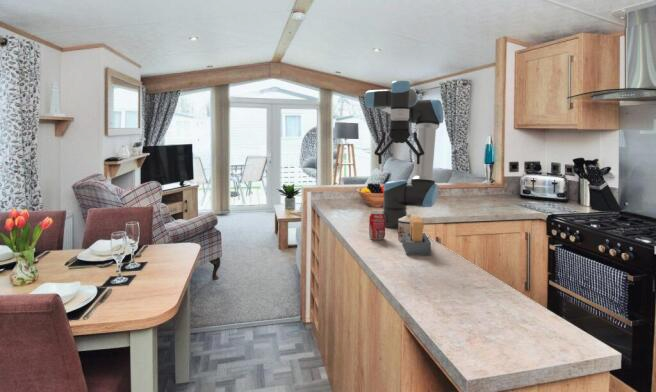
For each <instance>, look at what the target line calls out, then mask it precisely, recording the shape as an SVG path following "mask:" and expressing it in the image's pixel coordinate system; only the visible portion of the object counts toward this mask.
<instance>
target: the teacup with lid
mask: <svg viewBox="0 0 656 392" xmlns="http://www.w3.org/2000/svg"><path fill="white" fill-rule="evenodd" d="M410 217H413V216H412V214H411V213H407V214H406V216H404V217H403V218H400V219H398V228H397V230H398V232H397V240H398V241H400V242H402V240H403V233H410Z"/></svg>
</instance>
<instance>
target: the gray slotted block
mask: <svg viewBox="0 0 656 392" xmlns="http://www.w3.org/2000/svg"><path fill="white" fill-rule="evenodd" d="M401 243H402V247H403V250H404V253H405V255H406V256H425V257H426V256H429V257H430V256H431V255H432V254H431V250H432V249H431V248H432V242H431V241H430V239H429V238H428V235H426V233H423V237H422V241H412V237H410V233H403V240H402V241H401Z"/></svg>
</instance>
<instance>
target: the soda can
mask: <svg viewBox="0 0 656 392" xmlns="http://www.w3.org/2000/svg"><path fill="white" fill-rule="evenodd" d="M368 221H369V222H368V235H369V237H368V238H369V239H371V240H372V241H382V240H384V239H385V236H386V227H385V215H384V212H383V211H371V212H370V214H369V218H368Z"/></svg>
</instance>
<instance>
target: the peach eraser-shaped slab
mask: <svg viewBox="0 0 656 392" xmlns="http://www.w3.org/2000/svg"><path fill="white" fill-rule="evenodd" d="M424 223H425V222H424V221H423V219H422V217H420V216H412V217H410V237H412V241H422V237H423V229H424V227H425V226H424V225H425V224H424Z"/></svg>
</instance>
